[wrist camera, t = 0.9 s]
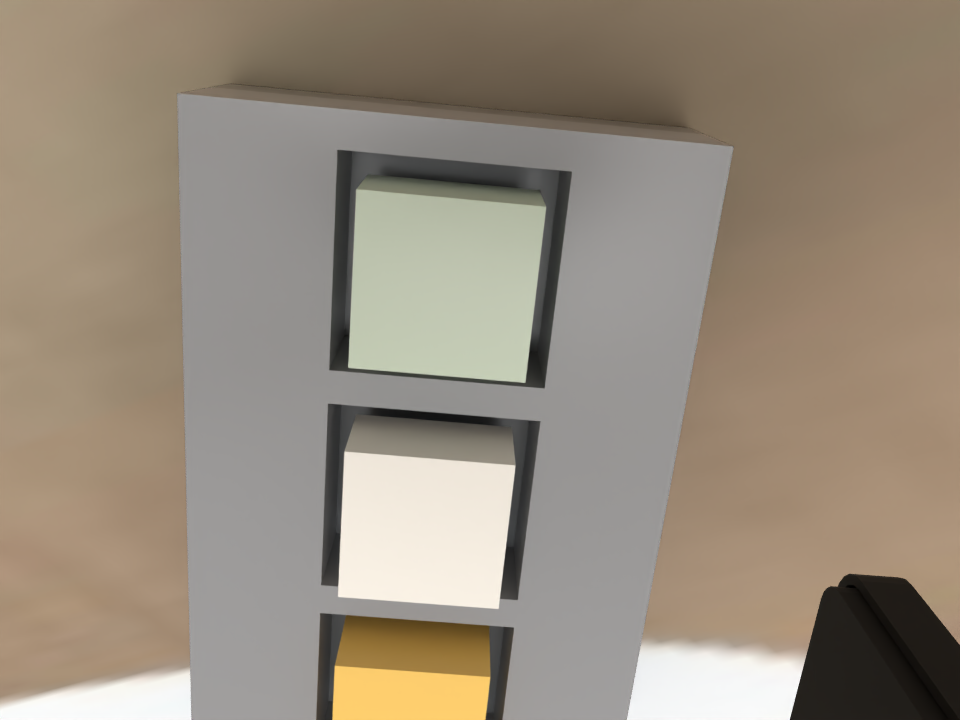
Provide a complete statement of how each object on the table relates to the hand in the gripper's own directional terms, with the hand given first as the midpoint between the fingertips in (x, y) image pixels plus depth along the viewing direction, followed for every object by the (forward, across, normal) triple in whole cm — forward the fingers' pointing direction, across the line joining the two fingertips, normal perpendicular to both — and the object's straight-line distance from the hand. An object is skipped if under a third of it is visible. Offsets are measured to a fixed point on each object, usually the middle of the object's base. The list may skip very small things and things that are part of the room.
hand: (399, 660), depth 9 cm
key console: (+20, 0, +7) cm, 21 cm away
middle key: (+16, 0, +7) cm, 17 cm away
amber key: (+16, 0, +14) cm, 21 cm away
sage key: (+16, 0, 0) cm, 16 cm away
